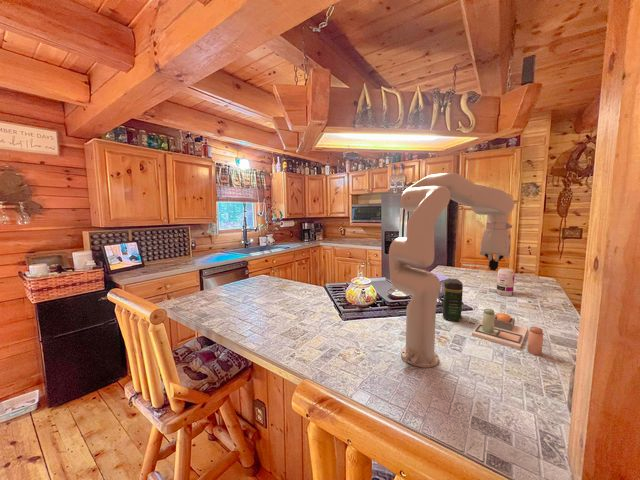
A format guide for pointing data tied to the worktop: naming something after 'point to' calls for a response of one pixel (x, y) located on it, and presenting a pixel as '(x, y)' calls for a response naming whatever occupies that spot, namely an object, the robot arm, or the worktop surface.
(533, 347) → the peach cylinder
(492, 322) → the cylinder
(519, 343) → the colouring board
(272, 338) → the worktop surface
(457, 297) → the coffee jar
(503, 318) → the button
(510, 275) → the supplement can
